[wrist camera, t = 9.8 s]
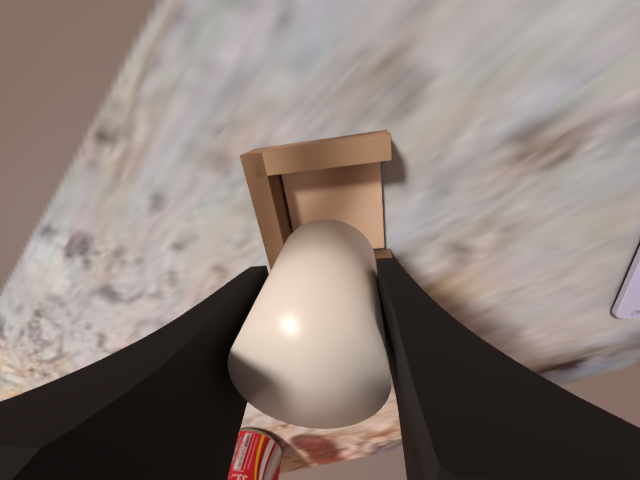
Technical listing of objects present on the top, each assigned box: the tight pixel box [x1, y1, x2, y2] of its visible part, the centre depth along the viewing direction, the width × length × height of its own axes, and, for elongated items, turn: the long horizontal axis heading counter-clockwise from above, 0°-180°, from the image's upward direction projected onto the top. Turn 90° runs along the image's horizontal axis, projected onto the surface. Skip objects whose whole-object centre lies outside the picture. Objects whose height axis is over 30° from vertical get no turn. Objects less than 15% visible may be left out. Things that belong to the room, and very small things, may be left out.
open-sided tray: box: [240, 130, 392, 367], centre depth 18 cm, size 8×16×2 cm, turn 8°
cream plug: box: [228, 219, 391, 429], centre depth 9 cm, size 4×4×6 cm
